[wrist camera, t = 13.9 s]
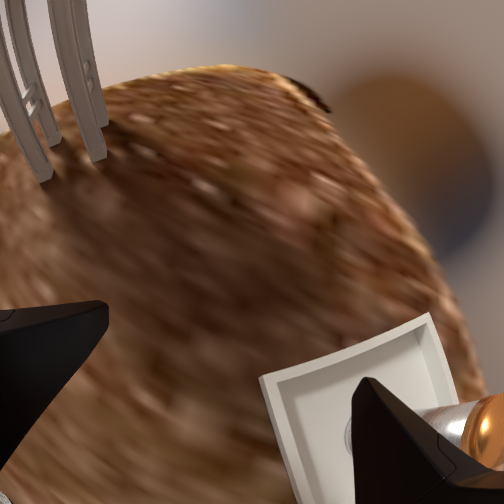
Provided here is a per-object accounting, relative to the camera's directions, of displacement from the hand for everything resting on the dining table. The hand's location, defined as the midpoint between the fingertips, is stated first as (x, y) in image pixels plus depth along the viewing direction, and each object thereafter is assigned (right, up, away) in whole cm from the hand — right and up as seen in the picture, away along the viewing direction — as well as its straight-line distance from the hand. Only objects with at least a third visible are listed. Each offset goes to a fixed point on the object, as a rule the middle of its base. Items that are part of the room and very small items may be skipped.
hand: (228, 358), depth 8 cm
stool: (-26, +19, +25) cm, 41 cm away
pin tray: (+11, -12, +10) cm, 19 cm away
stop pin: (+11, -11, +9) cm, 18 cm away
